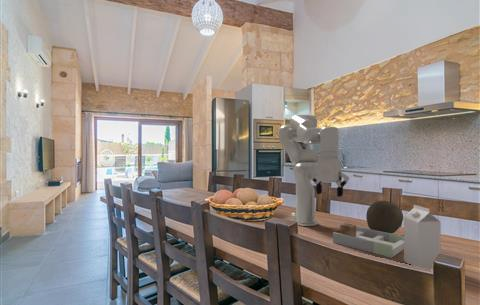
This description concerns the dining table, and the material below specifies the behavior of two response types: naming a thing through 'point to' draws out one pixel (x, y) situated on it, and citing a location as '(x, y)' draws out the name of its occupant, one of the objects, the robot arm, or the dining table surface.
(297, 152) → the robot arm
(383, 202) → the brown coconut
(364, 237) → the lane box
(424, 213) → the milk carton
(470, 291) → the dining table surface
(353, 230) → the walnut block
